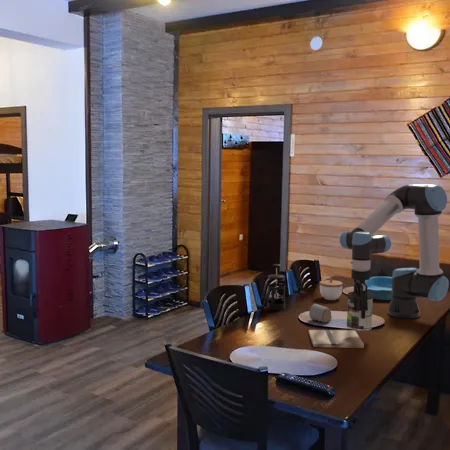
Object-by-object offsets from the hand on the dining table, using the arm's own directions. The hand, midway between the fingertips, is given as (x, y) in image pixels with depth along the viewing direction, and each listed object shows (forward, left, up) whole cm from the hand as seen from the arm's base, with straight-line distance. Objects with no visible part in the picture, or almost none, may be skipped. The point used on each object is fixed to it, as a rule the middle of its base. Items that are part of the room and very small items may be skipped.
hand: (359, 322), depth 218 cm
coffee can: (0, 0, -2) cm, 2 cm away
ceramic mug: (+12, -29, -8) cm, 33 cm away
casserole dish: (-31, -84, -9) cm, 90 cm away
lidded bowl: (+1, -72, -8) cm, 73 cm away
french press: (+32, -51, -8) cm, 61 cm away
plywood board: (+10, 0, -8) cm, 13 cm away
